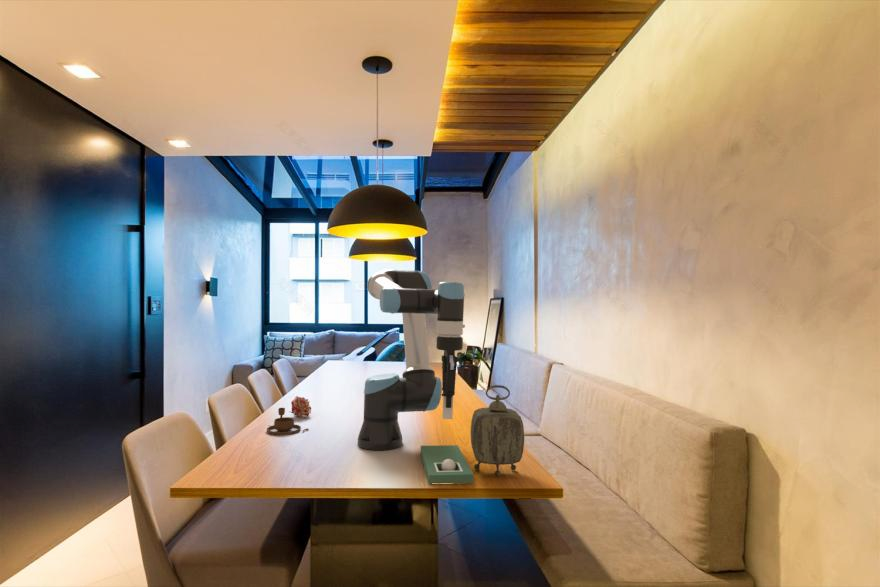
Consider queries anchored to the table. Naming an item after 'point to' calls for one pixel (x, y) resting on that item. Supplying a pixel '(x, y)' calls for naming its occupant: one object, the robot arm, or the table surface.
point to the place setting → (284, 425)
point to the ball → (448, 465)
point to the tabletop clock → (497, 434)
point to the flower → (300, 407)
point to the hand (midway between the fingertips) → (447, 418)
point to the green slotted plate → (435, 458)
